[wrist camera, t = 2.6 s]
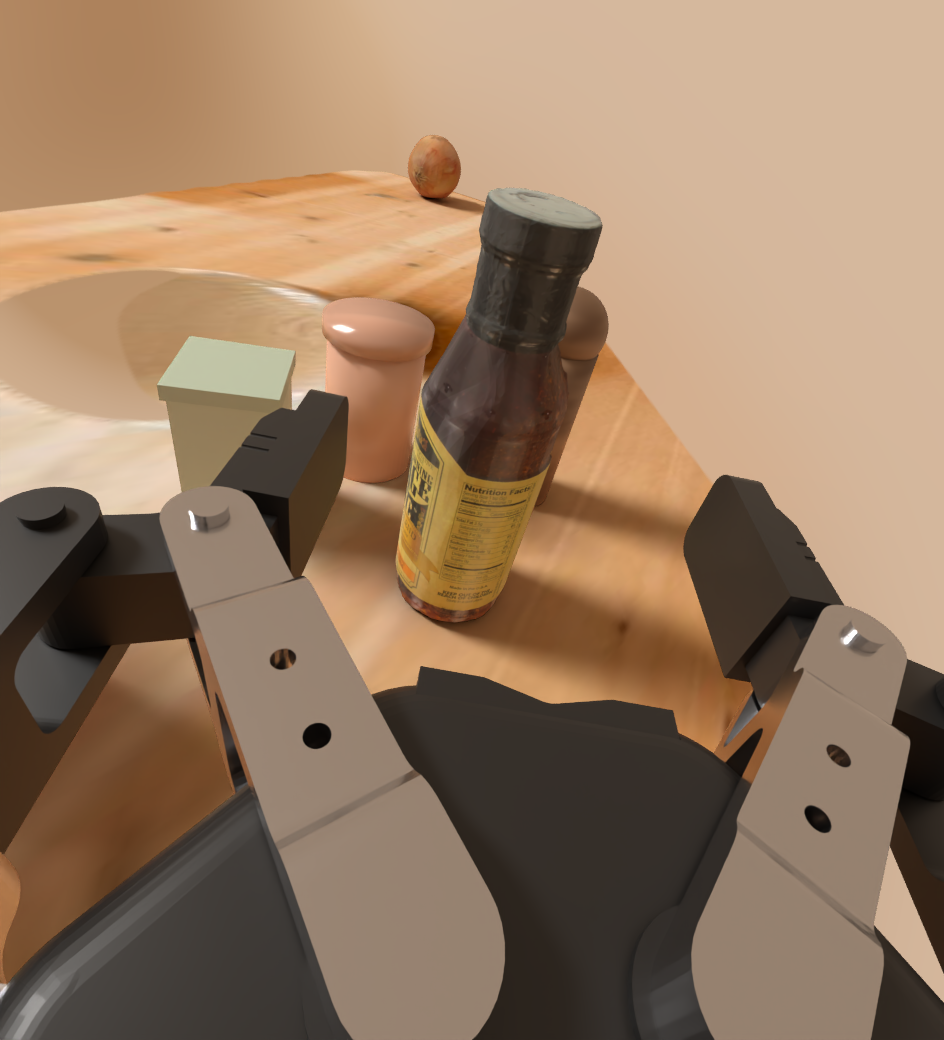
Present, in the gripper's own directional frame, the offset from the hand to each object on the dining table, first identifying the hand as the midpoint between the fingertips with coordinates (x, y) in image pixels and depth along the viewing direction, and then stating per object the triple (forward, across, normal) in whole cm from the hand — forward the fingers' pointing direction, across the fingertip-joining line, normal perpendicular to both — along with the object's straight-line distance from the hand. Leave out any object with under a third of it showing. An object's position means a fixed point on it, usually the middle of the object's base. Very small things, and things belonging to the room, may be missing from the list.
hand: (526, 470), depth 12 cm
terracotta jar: (+23, +8, +16) cm, 29 cm away
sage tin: (+16, +14, +16) cm, 26 cm away
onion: (+110, +15, +15) cm, 112 cm away
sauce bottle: (+12, 0, +17) cm, 20 cm away
